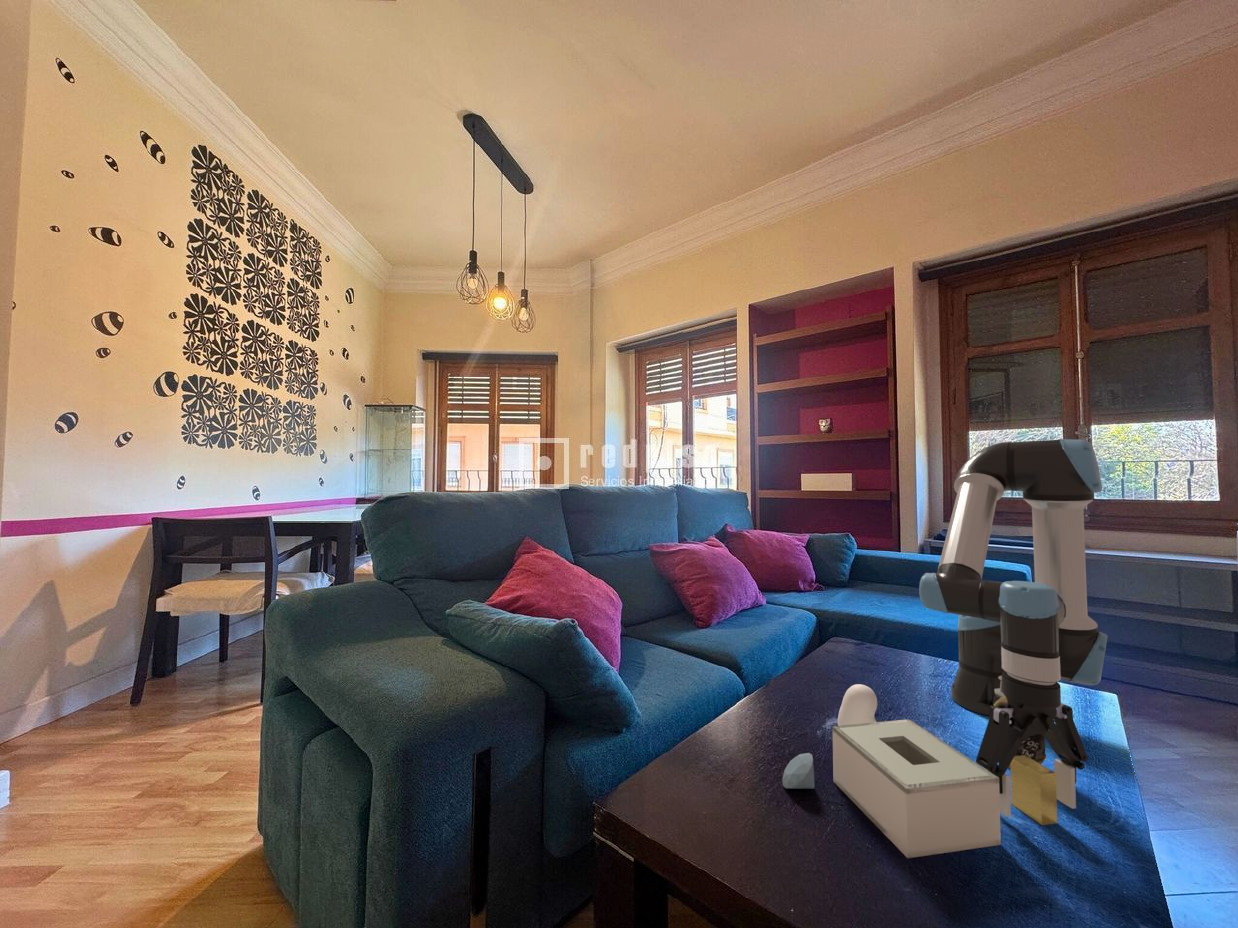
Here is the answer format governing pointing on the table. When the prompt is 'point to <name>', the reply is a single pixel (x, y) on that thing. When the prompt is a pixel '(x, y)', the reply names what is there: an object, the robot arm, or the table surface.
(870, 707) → the figurine
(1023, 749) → the ring-topped bottle ornament
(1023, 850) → the table surface
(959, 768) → the coin box
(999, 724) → the robot arm
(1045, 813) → the tan rectangular block
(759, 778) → the table surface
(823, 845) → the table surface
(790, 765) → the gemstone
